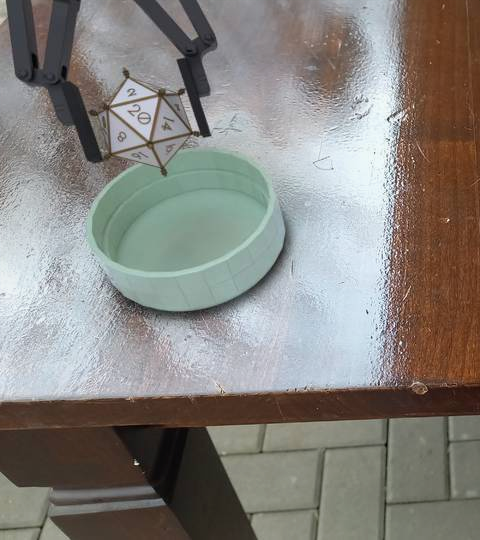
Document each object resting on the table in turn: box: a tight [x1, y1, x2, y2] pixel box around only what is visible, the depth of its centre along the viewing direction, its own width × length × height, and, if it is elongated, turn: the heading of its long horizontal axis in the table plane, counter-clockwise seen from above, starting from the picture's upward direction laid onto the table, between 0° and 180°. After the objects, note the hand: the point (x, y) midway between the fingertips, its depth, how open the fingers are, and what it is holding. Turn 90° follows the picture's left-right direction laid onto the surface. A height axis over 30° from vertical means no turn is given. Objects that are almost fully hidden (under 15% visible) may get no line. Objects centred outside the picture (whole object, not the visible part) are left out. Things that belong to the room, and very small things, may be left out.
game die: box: [87, 67, 202, 177], centre depth 62 cm, size 9×8×10 cm
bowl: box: [84, 147, 286, 312], centre depth 72 cm, size 18×18×6 cm
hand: (152, 147), depth 60 cm, fingers closed on game die, 8 cm apart
